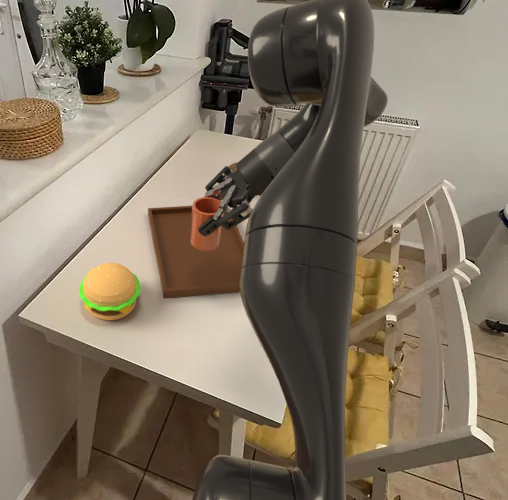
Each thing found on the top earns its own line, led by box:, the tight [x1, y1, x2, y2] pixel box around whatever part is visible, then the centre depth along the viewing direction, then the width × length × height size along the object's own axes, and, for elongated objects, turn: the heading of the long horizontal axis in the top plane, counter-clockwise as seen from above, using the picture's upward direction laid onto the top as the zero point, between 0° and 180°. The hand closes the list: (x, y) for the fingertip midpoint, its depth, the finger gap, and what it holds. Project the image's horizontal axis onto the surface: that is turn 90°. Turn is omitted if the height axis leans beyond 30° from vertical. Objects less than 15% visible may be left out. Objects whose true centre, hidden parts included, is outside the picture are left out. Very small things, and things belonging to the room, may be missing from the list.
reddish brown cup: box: [190, 196, 224, 251], centre depth 82 cm, size 6×6×8 cm
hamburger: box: [78, 262, 142, 321], centre depth 84 cm, size 12×12×9 cm
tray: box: [147, 205, 244, 299], centre depth 100 cm, size 30×21×2 cm
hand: (197, 222), depth 81 cm, fingers closed on reddish brown cup, 6 cm apart
